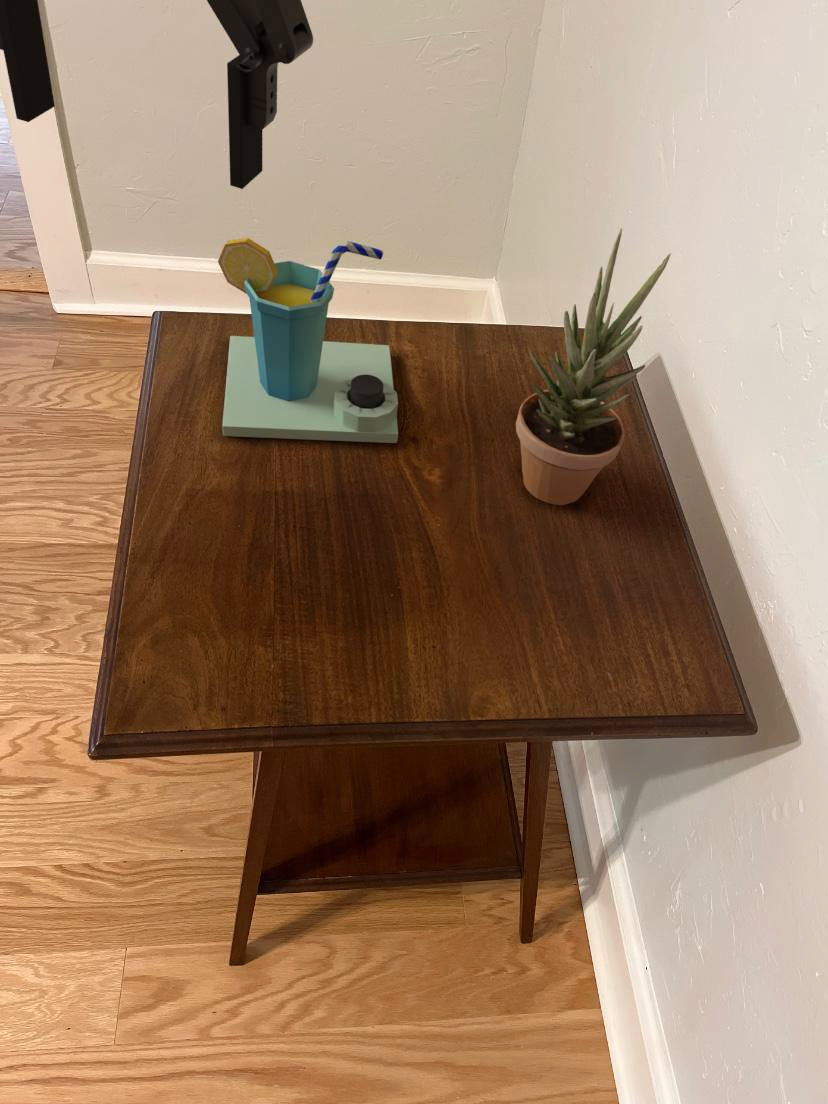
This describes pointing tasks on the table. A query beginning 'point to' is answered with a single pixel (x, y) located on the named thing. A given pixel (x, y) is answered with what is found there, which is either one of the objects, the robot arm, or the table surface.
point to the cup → (285, 312)
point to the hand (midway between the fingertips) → (140, 145)
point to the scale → (311, 397)
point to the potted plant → (580, 399)
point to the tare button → (366, 391)
